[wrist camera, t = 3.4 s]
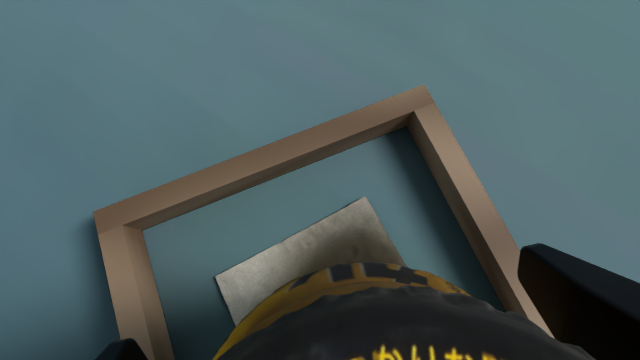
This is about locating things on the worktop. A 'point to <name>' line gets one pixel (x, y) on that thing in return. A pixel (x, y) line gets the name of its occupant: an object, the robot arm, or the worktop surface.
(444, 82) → the worktop surface
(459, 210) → the walnut frame
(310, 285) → the condiment
